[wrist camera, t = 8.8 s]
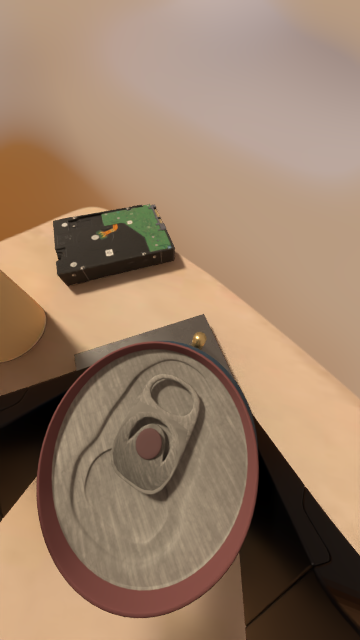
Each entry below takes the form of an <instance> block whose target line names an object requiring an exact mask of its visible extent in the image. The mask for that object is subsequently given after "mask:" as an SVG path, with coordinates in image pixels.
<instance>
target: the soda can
mask: <svg viewBox="0 0 360 640" xmlns="http://www.w3.org/2000/svg"><path fill="white" fill-rule="evenodd" d="M258 479H259V463H258V442H257V434H256V429H255V424H254V420H253V417H252V414H251V410H250V408H249V405H248V403H247V400H246V398H245V396H244V394H243V392H242V391H241V389H240V387H239V386H238V384H237V382H236V381H235V380H234V378H233V377H232V376H231V374H230V373H229V372H228V371H227V370H226V369H225V368H224V367H223V366H222V365H221V364H220V363H219V362H218V361H217V360H215V359H214V358H213V357H211V356H210V355H208V354H207V353H205V352H203V351H201V350H200V349H197V348H195V347H193V346H190V345H187V344H184V343H180V342H174V341H151V342H141V343H136V344H132V345H128V346H125V347H122V348H120V349H118V350H115V351H113V352H111V353H109V354H108V355H106V356H104V357H103V358H101V359H100V360H98V361H97V362H95V363H94V364H93V365H92V366H90V367H89V368H88V369H87V370H86V371H85V372H84V373H83V374H82V375H81V376H80V377H79V378H78V379H77V380H76V381H75V382H74V383H73V385H72V386H71V387H70V388H69V390H68V391H67V393H66V394H65V395H64V397H63V398H62V400H61V402H60V403H59V405H58V407H57V409H56V411H55V413H54V415H53V417H52V419H51V421H50V423H49V426H48V429H47V431H46V434H45V437H44V441H43V444H42V448H41V452H40V458H39V463H38V471H37V508H38V515H39V521H40V526H41V530H42V533H43V537H44V540H45V543H46V546H47V548H48V551H49V553H50V555H51V557H52V559H53V561H54V563H55V565H56V567H57V568H58V570H59V572H60V573H61V574H62V576H63V577H64V578H65V580H66V581H67V582H68V584H69V585H70V586H71V587H72V588H73V589H74V590H75V591H76V592H77V593H78V594H79V595H81V596H82V597H83V598H84V599H85V600H87V601H88V602H90V603H91V604H93V605H94V606H96V607H98V608H100V609H102V610H104V611H107V612H109V613H112V614H115V615H119V616H123V617H130V618H149V617H157V616H161V615H165V614H169V613H171V612H174V611H176V610H179V609H181V608H183V607H185V606H187V605H189V604H190V603H192V602H194V601H195V600H197V599H198V598H200V597H201V596H202V595H203V594H205V593H206V592H207V591H208V590H210V589H211V588H212V587H213V586H214V585H215V584H216V583H217V582H218V581H219V580H220V579H221V577H222V576H223V575H224V574H225V573H226V572H227V570H228V569H229V567H230V566H231V565H232V563H233V562H234V560H235V558H236V556H237V555H238V553H239V551H240V549H241V547H242V545H243V542H244V540H245V538H246V535H247V532H248V530H249V527H250V524H251V520H252V517H253V513H254V508H255V504H256V497H257V491H258Z"/></svg>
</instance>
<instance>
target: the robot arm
mask: <svg viewBox="0 0 360 640" xmlns="http://www.w3.org/2000/svg"><path fill="white" fill-rule="evenodd" d="M89 367H90V366H89ZM89 367H86V368H83V369H80V370H77V371H74V372H71V373H68V374H65V375H62V376H59V377H56V378H53V379H50V380H47V381H44V382H41V383H38V384H35V385H32V386H30V387H29V388H28V387H26V388H23V389H20V390H17V391H14V392H11V393H8V394H5V395H2V396H0V522H1V521H2V518H4V517H5V515H6V514H7V513H8V512H9V510H10V509H11V508H12V507H13V505H14V504H15V503H16V502H17V500H18V499H19V498H20V497H21V495H22V494H23V493H24V492H25V490H26V489H27V488H28V487H29V485H30V484H31V483H32V482H33V480H34V479H35V478H36V477H37V471H38V463H39V458H40V452H41V448H42V444H43V441H44V437H45V434H46V431H47V429H48V426H49V423H50V421H51V419H52V417H53V415H54V413H55V411H56V409H57V407H58V405H59V403H60V402H61V400H62V398H63V397H64V395H65V394H66V393H67V391H68V390H69V388H70V387H71V386H72V385H73V383H74V382H75V381H76V380H77V379H78V378H79V377H80V376H81V375H82V374H83V373H84V372H85V371H86V370H87V369H88V368H89ZM251 414H252V413H251ZM252 417H253V420H254V424H255V429H256V434H257V442H258V463H259V479H258V491H257V497H256V504H255V508H254V513H253V517H252V520H251V524H250V527H249V530H248V532H247V535H246V538H245V540H244V542H243V545H242V547H241V549H240V551H239V554H240V566H241V579H242V591H243V604H244V616H245V625H246V628H245V630H246V640H360V555H359V554H358V553H357V552H356V550H355V549H354V548H353V547H352V546H351V544H350V543H349V542H348V541H347V539H346V538H345V537H344V536H343V534H342V533H341V532H340V531H339V529H338V528H337V527H336V526H335V524H334V523H333V522H332V521H331V519H330V518H329V517H328V516H327V514H326V513H325V512H324V510H323V509H322V508H321V506H320V505H319V504H318V502H317V501H316V500H315V498H314V497H313V496H312V494H311V493H310V492H309V490H308V489H307V488H306V487H305V485H304V484H303V482H302V481H301V480H300V478H299V477H298V475H297V474H296V473H295V471H294V470H293V469H292V467H291V466H290V465H289V463H288V462H287V461H286V459H285V458H284V456H283V455H282V454H281V452H280V451H279V450H278V448H277V447H276V446H275V444H274V443H273V442H272V440H271V439H270V438H269V436H268V435H267V433H266V432H265V431H264V429H263V428H262V427H261V425H260V424H259V423H258V421H257V420H256V419H255V417H254V416H253V414H252Z"/></svg>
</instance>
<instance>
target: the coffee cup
mask: <svg viewBox="0 0 360 640" xmlns="http://www.w3.org/2000/svg"><path fill="white" fill-rule="evenodd" d="M45 326H46V315H45V312H44V310H43V309H42V307H41V306H40V305H39V304H38V303H37V302H36V301H35V300H34V299H33V298H31V297H30V296H29V295H28V294H27V293H26V292H25V291H24V290H22V289H21V288H20V287H19V286H18V285H17V284H16V283H15V282H14V281H12V280H11V279H10V278H9V277H8V276H7V275H6V274H5V273H4V272H2V271H1V270H0V362H6V361H10V360H12V359H15V358H17V357H19V356H21V355H23V354H24V353H26V352H27V351H29V350H30V349H31V348H32V347H33V346H34V345H35V344H36V343H37V342H38V340H39V339H40V338H41V336H42V334H43V332H44V329H45Z"/></svg>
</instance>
